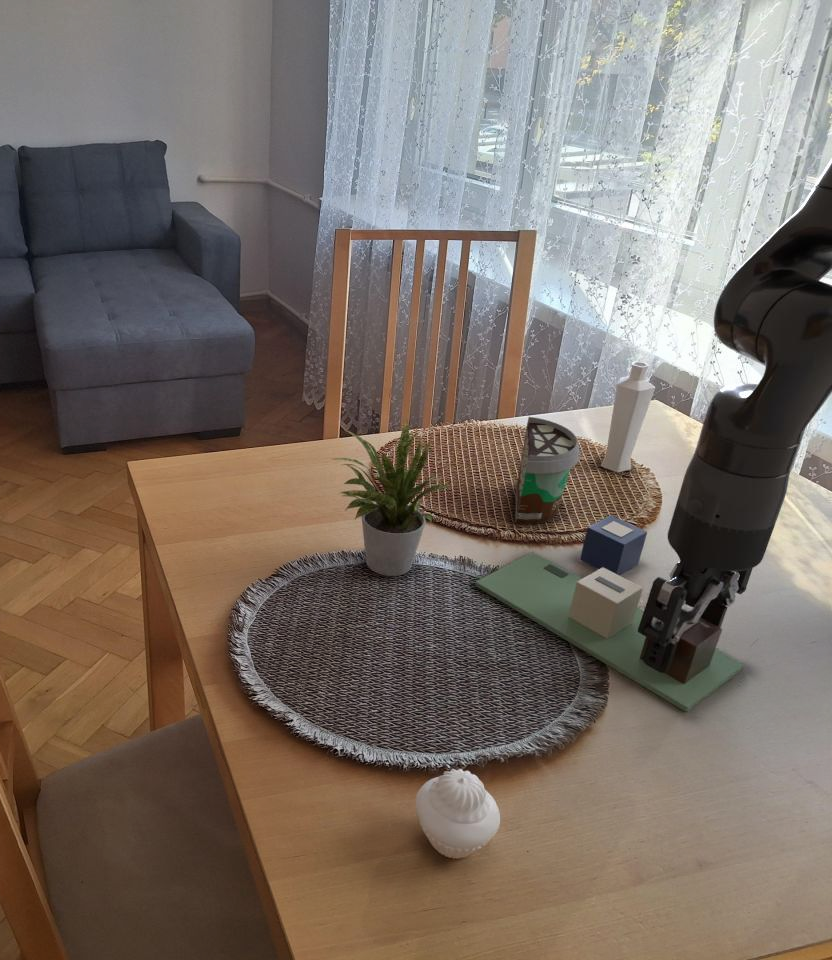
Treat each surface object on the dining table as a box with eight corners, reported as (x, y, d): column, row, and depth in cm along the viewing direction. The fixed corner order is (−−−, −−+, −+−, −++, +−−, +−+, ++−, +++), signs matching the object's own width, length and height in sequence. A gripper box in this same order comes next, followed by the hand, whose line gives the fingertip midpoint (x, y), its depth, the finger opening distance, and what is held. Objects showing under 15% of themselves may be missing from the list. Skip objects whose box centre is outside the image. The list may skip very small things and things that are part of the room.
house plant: (328, 520, 108) (335, 401, 100) (441, 529, 106) (458, 408, 98) (319, 586, 96) (327, 457, 88) (447, 599, 93) (467, 467, 85)
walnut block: (664, 641, 86) (676, 604, 84) (709, 665, 82) (723, 628, 80) (638, 658, 84) (650, 621, 81) (684, 684, 80) (697, 646, 78)
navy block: (602, 547, 102) (610, 514, 99) (638, 564, 98) (647, 531, 96) (579, 559, 99) (587, 526, 97) (615, 578, 96) (624, 544, 94)
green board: (531, 556, 100) (532, 551, 100) (742, 669, 83) (744, 663, 82) (474, 585, 95) (475, 580, 95) (686, 712, 78) (688, 707, 78)
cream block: (593, 601, 92) (602, 566, 89) (633, 622, 88) (643, 586, 86) (567, 616, 89) (576, 581, 87) (607, 639, 86) (617, 603, 84)
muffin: (403, 859, 65) (412, 795, 62) (418, 799, 70) (428, 737, 67) (487, 888, 63) (502, 823, 60) (497, 823, 68) (511, 760, 65)
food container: (569, 537, 104) (585, 464, 99) (515, 529, 105) (528, 457, 100) (565, 488, 114) (580, 420, 109) (516, 482, 115) (528, 414, 111)
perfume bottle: (630, 476, 116) (657, 373, 109) (596, 468, 118) (620, 367, 111) (636, 463, 120) (662, 361, 112) (602, 455, 122) (626, 355, 114)
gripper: (728, 551, 68) (677, 703, 76) (813, 497, 75) (758, 641, 83) (639, 511, 74) (600, 657, 82) (726, 464, 81) (682, 603, 88)
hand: (680, 649), depth 82 cm, fingers open, 8 cm apart
